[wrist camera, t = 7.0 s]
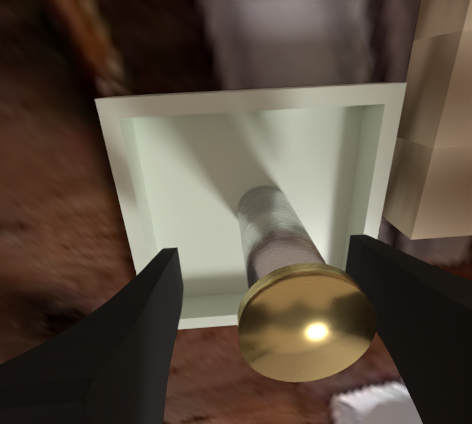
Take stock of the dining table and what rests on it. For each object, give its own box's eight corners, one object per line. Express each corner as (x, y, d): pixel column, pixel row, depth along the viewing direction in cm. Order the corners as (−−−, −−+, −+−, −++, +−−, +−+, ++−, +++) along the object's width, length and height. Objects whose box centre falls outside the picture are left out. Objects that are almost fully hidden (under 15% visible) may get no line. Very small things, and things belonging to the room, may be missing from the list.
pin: (295, 239, 17) (363, 377, 9) (229, 242, 17) (239, 385, 9) (300, 175, 15) (390, 276, 7) (227, 177, 15) (238, 284, 7)
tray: (346, 287, 20) (362, 314, 17) (158, 302, 19) (150, 331, 17) (376, 82, 14) (406, 82, 12) (114, 96, 14) (94, 98, 11)
